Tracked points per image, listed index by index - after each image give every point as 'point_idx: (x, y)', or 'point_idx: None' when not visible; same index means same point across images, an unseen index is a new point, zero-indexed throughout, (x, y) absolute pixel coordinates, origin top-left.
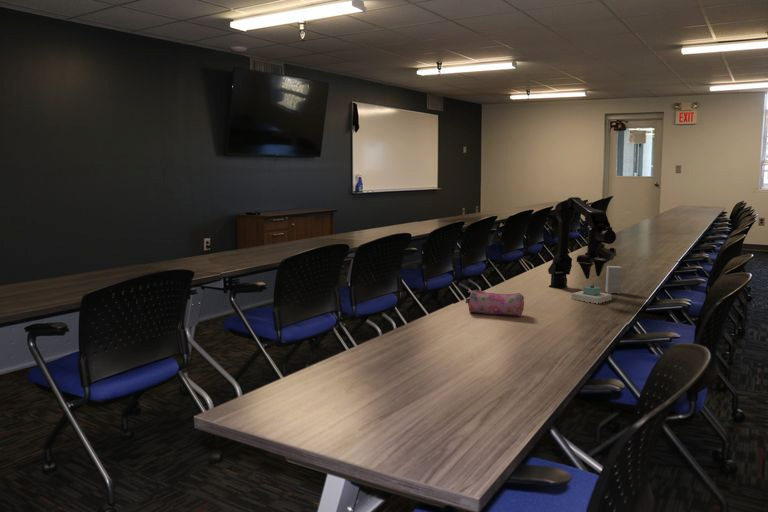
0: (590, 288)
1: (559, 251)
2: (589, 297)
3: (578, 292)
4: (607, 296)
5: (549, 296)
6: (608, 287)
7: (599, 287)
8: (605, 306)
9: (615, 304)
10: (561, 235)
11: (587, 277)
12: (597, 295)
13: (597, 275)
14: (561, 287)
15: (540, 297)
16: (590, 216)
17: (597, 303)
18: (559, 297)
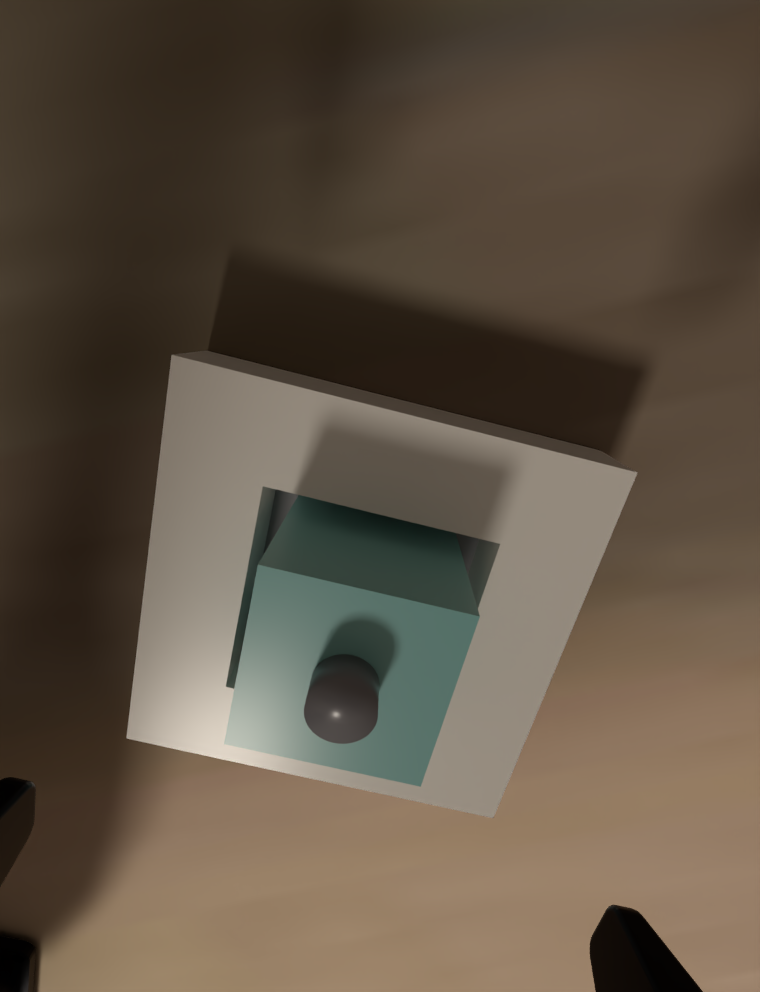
0: (456, 683)
1: None
2: (580, 590)
3: None
4: (321, 389)
5: (467, 934)
6: None
7: (256, 581)
8: (698, 315)
9: (476, 217)
10: None
11: (656, 962)
12: (360, 533)
13: (21, 835)
14: (8, 951)
15: (564, 977)
16: None
17: (599, 451)
18: (457, 860)
